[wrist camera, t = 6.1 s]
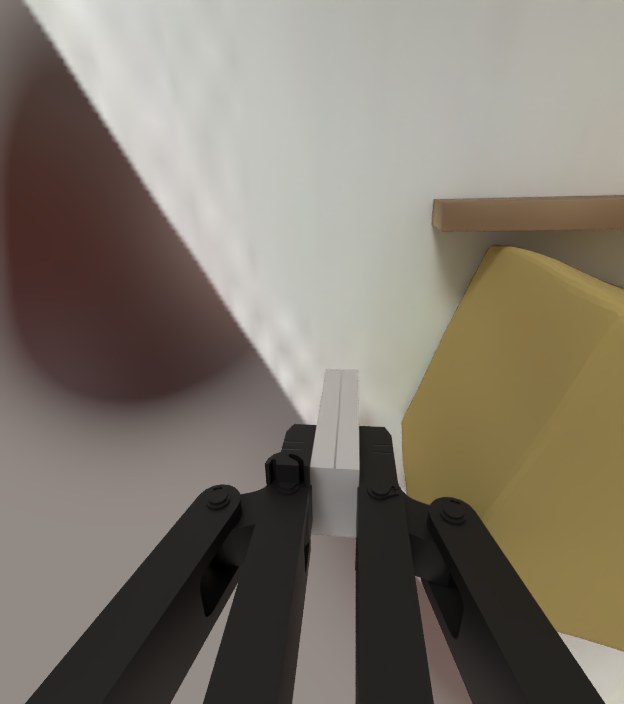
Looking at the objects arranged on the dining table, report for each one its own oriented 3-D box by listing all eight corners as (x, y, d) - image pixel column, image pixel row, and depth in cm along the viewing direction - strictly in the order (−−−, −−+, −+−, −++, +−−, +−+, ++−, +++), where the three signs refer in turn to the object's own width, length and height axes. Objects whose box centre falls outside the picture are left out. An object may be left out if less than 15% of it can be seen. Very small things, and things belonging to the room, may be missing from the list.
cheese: (706, 305, 17) (1108, 453, 8) (566, 484, 21) (719, 709, 12) (481, 228, 17) (629, 289, 8) (387, 426, 21) (409, 612, 12)
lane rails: (433, 199, 16) (445, 202, 14) (767, 192, 15) (839, 194, 13) (406, 492, 23) (411, 527, 21) (638, 505, 22) (671, 544, 19)
